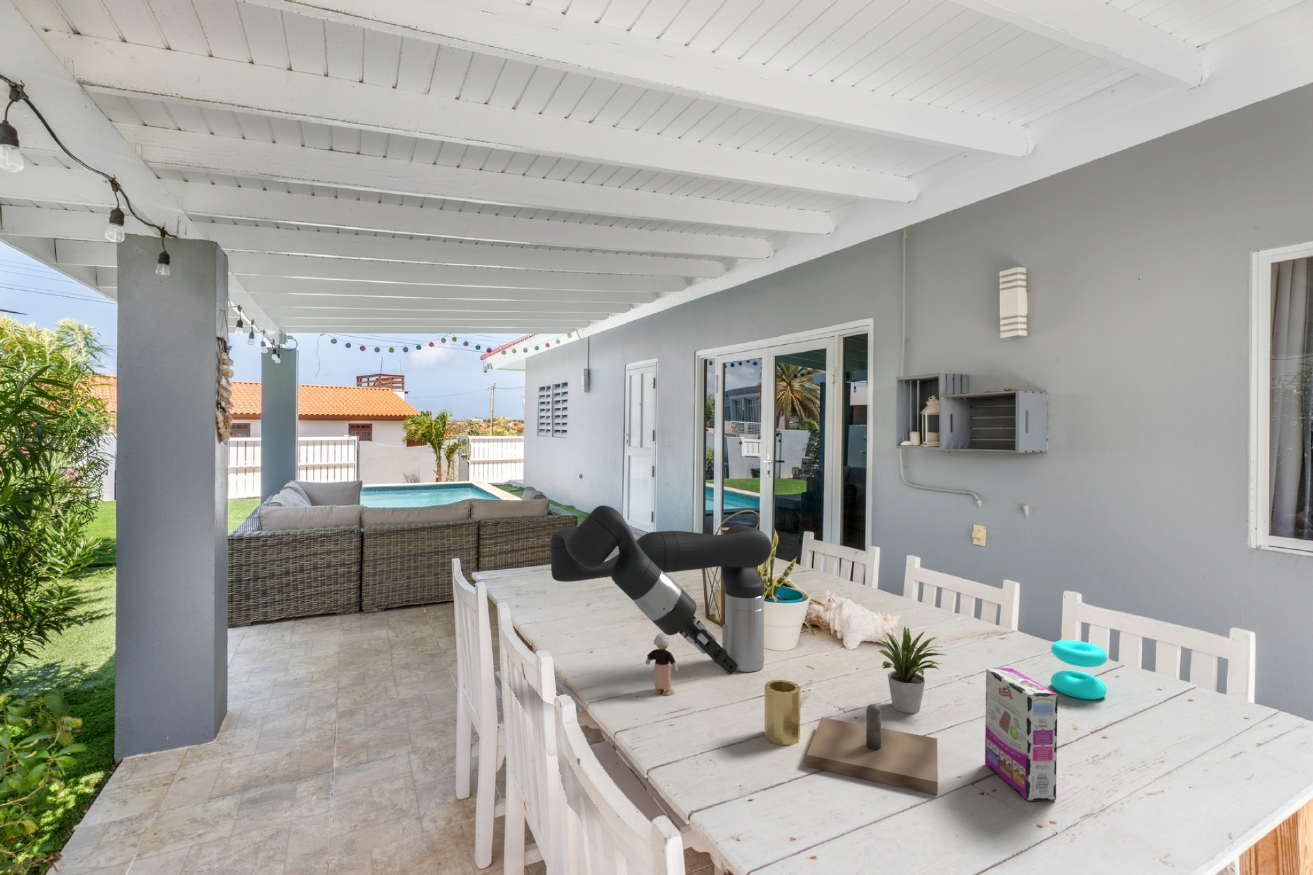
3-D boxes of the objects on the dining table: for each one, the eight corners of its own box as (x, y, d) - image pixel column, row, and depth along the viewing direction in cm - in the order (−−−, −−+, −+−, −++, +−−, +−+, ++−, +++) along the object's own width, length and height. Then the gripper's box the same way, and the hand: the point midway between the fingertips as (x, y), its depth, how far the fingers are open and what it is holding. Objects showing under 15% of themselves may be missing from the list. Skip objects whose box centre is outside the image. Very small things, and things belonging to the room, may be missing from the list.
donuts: (1110, 645, 136) (1103, 657, 128) (1109, 691, 136) (1102, 706, 128) (1056, 634, 142) (1046, 645, 135) (1056, 678, 142) (1046, 692, 135)
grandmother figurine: (681, 690, 135) (681, 632, 135) (676, 697, 132) (676, 637, 132) (647, 685, 138) (648, 628, 138) (641, 692, 134) (641, 633, 134)
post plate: (806, 766, 105) (807, 711, 105) (821, 727, 119) (821, 679, 119) (937, 794, 97) (938, 735, 97) (937, 749, 111) (937, 697, 110)
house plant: (907, 732, 117) (908, 645, 117) (852, 703, 129) (852, 624, 129) (958, 716, 123) (958, 633, 123) (901, 690, 136) (901, 615, 136)
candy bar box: (1058, 801, 95) (1060, 694, 95) (1027, 802, 95) (1029, 695, 95) (1011, 762, 107) (1012, 666, 106) (983, 763, 106) (984, 667, 106)
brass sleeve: (761, 740, 114) (761, 690, 113) (769, 725, 119) (769, 677, 119) (795, 747, 111) (796, 696, 111) (802, 732, 117) (802, 683, 117)
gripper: (637, 606, 114) (696, 663, 118) (660, 630, 101) (725, 693, 104) (665, 575, 116) (722, 632, 119) (692, 595, 102) (755, 659, 105)
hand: (724, 661), depth 112 cm, fingers open, 8 cm apart
